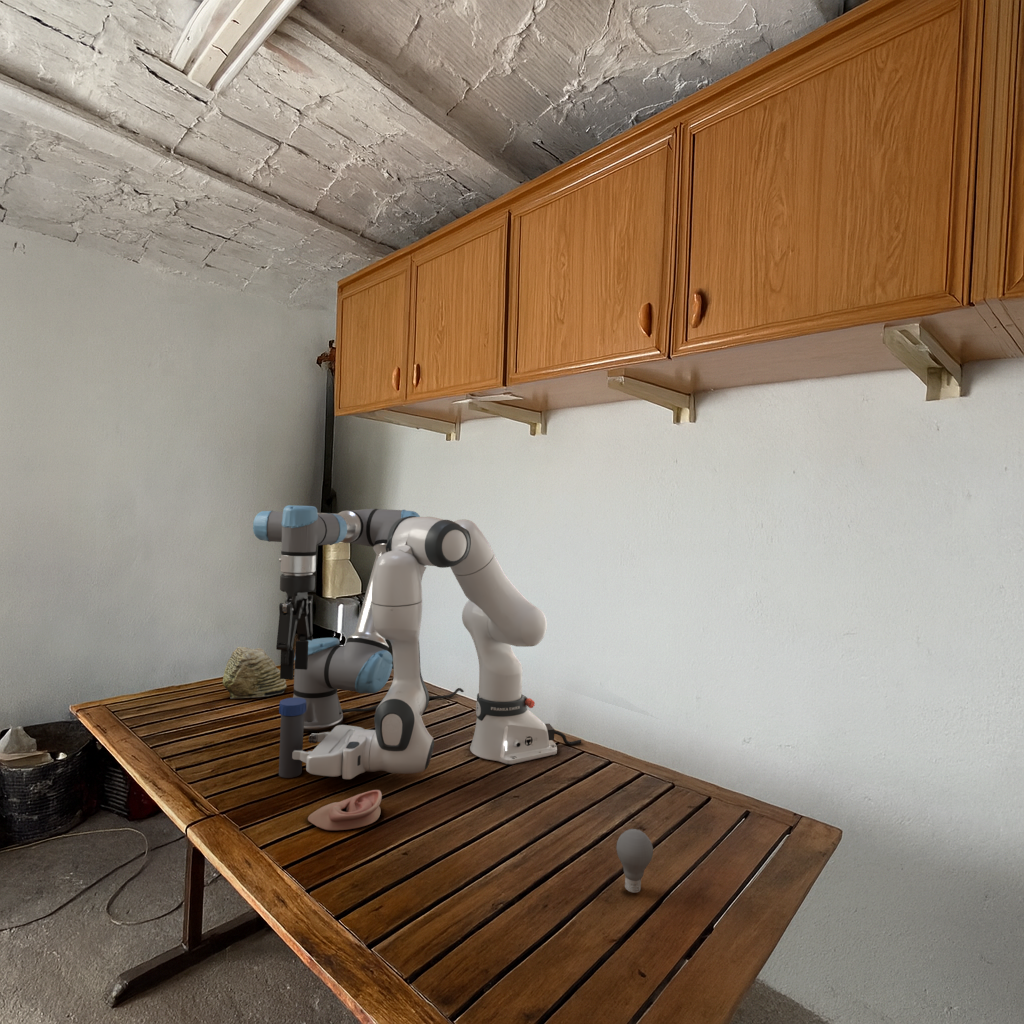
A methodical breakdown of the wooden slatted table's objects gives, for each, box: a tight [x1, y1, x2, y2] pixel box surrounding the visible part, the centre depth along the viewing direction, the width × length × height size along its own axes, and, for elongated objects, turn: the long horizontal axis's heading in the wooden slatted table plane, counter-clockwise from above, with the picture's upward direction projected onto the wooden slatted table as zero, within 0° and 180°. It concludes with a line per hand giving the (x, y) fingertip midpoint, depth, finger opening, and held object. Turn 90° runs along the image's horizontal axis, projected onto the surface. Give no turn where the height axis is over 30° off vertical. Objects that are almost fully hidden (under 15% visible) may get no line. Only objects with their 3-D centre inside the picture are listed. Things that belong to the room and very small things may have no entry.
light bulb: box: [615, 828, 654, 894], centre depth 106 cm, size 6×6×10 cm
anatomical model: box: [307, 789, 383, 831], centre depth 126 cm, size 13×4×12 cm
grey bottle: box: [278, 714, 304, 779], centre depth 144 cm, size 5×5×16 cm
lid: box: [278, 697, 307, 716], centre depth 144 cm, size 6×6×2 cm
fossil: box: [222, 646, 288, 699], centre depth 198 cm, size 9×18×15 cm, turn 132°
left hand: (294, 673), depth 144 cm, fingers open, 8 cm apart
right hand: (301, 745), depth 144 cm, fingers open, 8 cm apart
